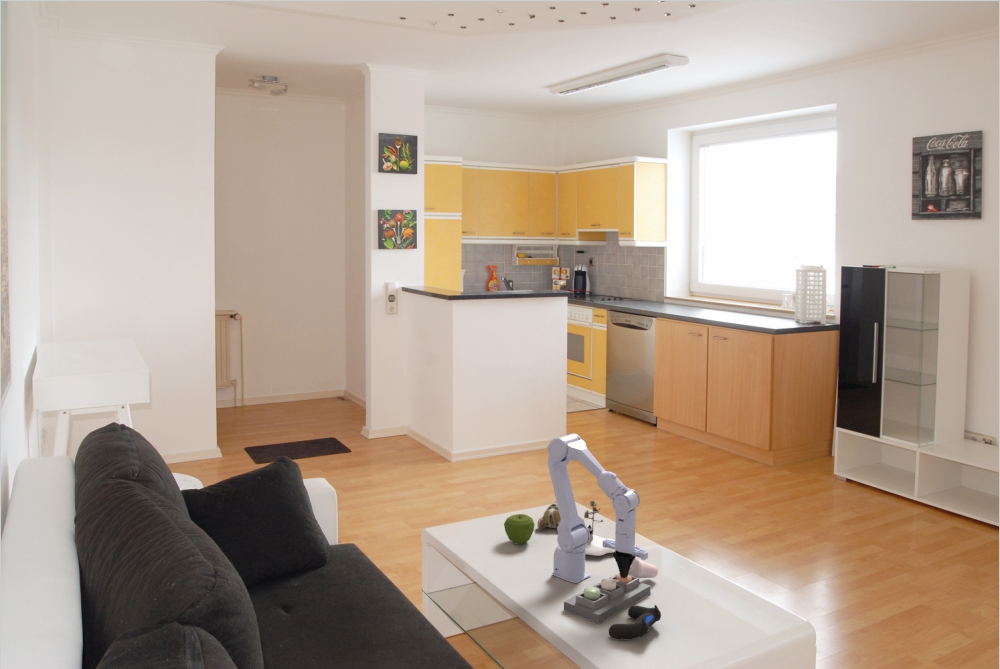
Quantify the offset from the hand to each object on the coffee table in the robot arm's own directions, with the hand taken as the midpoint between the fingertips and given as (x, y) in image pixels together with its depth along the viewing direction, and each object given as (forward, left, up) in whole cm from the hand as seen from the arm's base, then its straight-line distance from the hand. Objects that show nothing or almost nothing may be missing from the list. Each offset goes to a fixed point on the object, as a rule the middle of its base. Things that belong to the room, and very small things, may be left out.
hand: (624, 576), depth 229 cm
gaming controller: (+16, -17, -6) cm, 24 cm away
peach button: (0, 0, -2) cm, 2 cm away
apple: (-49, +9, -5) cm, 50 cm away
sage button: (0, -16, -1) cm, 16 cm away
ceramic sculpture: (-51, +30, -6) cm, 59 cm away
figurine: (-27, +22, -6) cm, 36 cm away
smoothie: (+1, +15, -3) cm, 15 cm away
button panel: (0, -8, -5) cm, 9 cm away
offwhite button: (0, -8, -1) cm, 8 cm away
